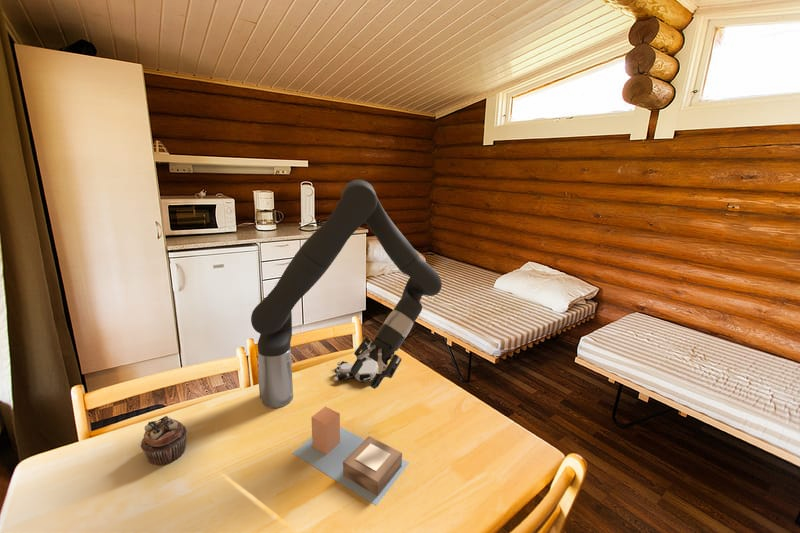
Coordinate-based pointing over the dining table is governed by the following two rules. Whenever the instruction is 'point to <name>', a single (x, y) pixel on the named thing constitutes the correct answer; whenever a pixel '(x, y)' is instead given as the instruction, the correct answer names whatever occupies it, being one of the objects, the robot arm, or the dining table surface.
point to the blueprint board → (334, 463)
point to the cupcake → (164, 441)
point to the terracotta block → (325, 430)
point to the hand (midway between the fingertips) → (362, 380)
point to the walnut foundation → (372, 465)
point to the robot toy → (364, 373)
